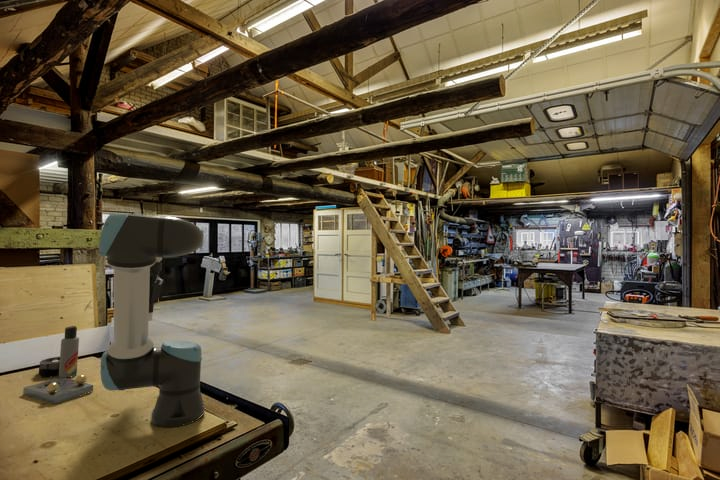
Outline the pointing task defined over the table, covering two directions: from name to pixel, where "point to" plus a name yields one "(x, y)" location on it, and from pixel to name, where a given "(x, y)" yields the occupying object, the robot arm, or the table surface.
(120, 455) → the table surface
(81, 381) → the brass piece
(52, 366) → the cpu cooler
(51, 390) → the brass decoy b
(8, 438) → the table surface
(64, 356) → the lotion bottle
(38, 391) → the bearing plate
